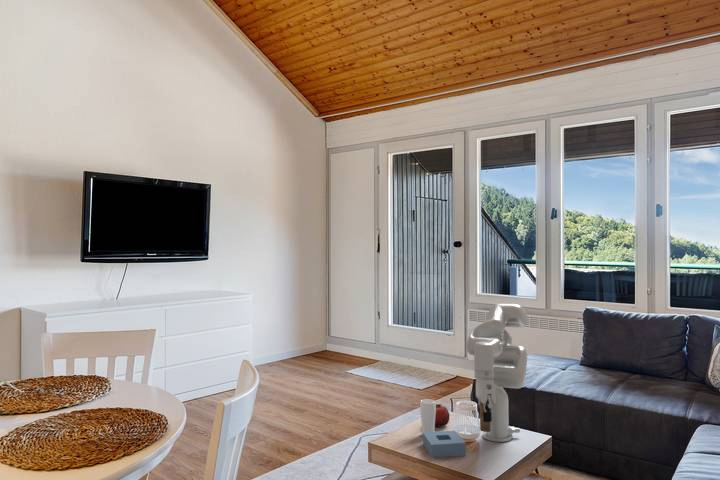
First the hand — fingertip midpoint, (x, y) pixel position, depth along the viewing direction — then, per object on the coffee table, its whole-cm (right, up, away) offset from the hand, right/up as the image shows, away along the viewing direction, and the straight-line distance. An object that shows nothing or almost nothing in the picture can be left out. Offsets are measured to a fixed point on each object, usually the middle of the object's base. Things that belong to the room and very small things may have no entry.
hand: (485, 419), depth 207 cm
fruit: (-13, -16, +36) cm, 41 cm away
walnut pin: (0, -4, 0) cm, 4 cm away
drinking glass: (-19, -16, +24) cm, 35 cm away
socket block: (-15, -15, +7) cm, 23 cm away
